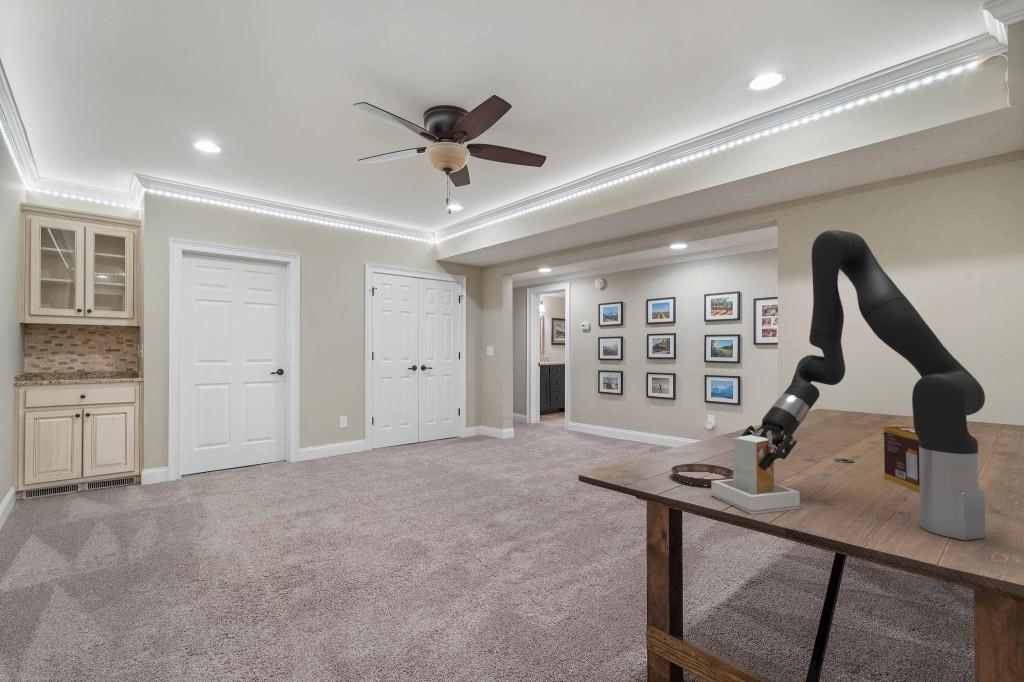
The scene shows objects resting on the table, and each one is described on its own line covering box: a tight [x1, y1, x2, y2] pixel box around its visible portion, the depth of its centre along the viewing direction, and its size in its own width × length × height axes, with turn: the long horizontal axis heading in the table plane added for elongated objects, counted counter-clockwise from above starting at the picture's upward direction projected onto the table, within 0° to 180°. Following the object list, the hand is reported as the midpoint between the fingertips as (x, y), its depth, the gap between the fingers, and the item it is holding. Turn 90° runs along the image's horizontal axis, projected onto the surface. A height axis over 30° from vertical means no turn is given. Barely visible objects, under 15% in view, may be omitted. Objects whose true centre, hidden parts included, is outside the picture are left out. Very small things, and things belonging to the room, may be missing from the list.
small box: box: [732, 435, 775, 495], centre depth 120 cm, size 8×6×13 cm
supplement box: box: [883, 425, 920, 493], centre depth 134 cm, size 10×15×16 cm
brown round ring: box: [670, 463, 733, 487], centre depth 140 cm, size 18×18×3 cm
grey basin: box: [710, 479, 801, 515], centre depth 120 cm, size 14×14×4 cm
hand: (749, 463), depth 119 cm, fingers closed on small box, 8 cm apart
